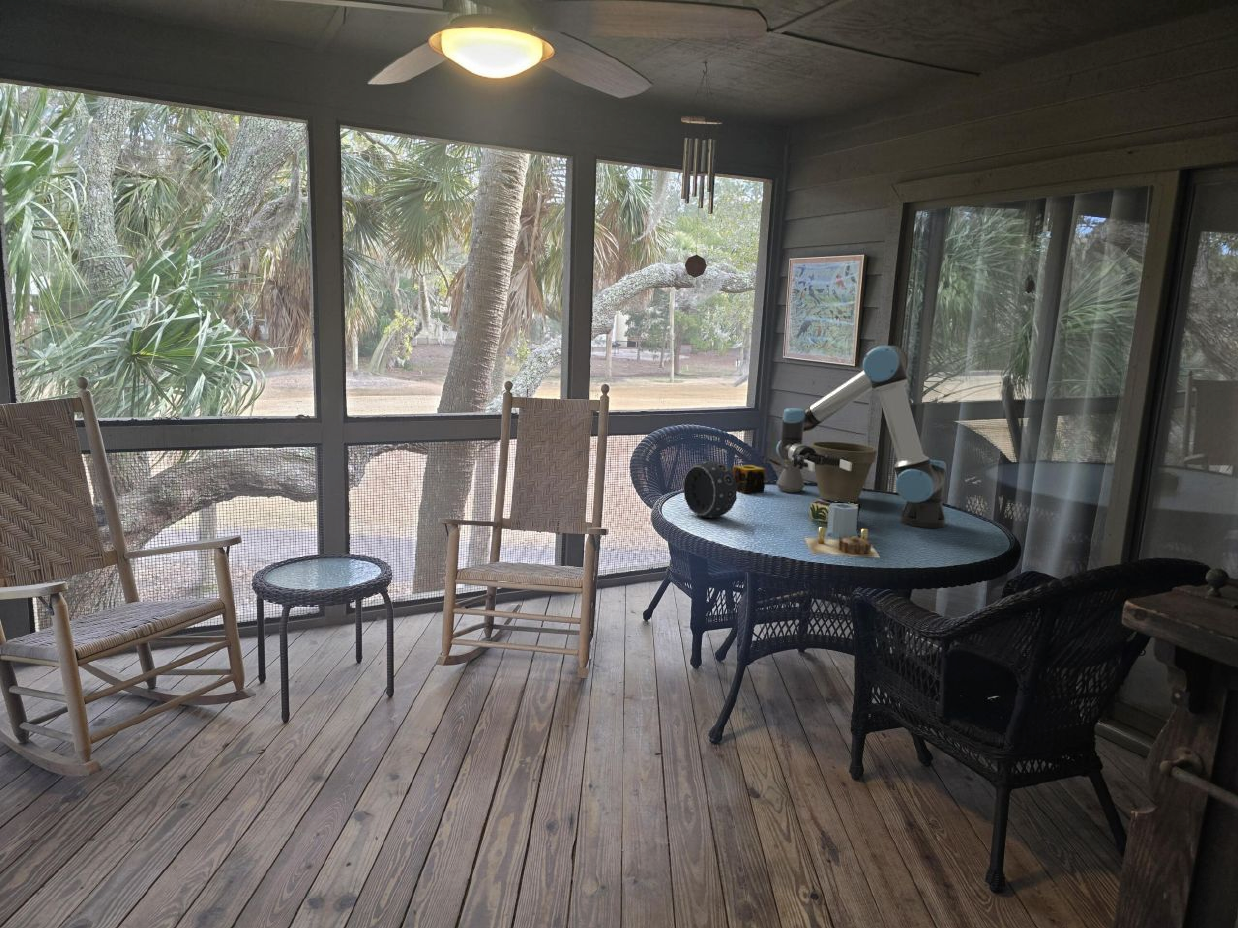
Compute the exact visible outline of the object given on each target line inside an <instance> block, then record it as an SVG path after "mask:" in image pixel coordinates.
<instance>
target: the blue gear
mask: <svg viewBox="0 0 1238 928" xmlns="http://www.w3.org/2000/svg"><path fill="white" fill-rule="evenodd" d="M858 511H859V506H857V505H854V504H853V503H837V502H832V503H830V504H829V505H828V516H827V525H826V526H827V528H826V531H825V536H828V537H829V536H830V537H833V538H834V539H840V538H846V537H851V538H852V536H856V537H859V534H858V531H857V522H858V514H859V513H858Z"/></svg>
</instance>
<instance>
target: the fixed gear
mask: <svg viewBox="0 0 1238 928" xmlns="http://www.w3.org/2000/svg"><path fill="white" fill-rule="evenodd" d="M838 540H839V546H838V549H839V550H842V551H841V552H843V553H850V554H852V555H854V554H859V555H864V554H870V551H871V545H872V541H869V540H868V539H867V540H866V539H860V537H859V536H858V537H856V536H852V538H851V537H846V538H839V539H838Z"/></svg>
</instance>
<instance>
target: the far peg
mask: <svg viewBox="0 0 1238 928" xmlns="http://www.w3.org/2000/svg"><path fill="white" fill-rule="evenodd" d="M868 535H869V529H868V528H863V527H862V528H860V537H859V539H866V540H868Z"/></svg>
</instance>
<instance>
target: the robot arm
mask: <svg viewBox="0 0 1238 928" xmlns="http://www.w3.org/2000/svg"><path fill="white" fill-rule="evenodd" d="M908 366H909V356H908V353H907V352H906V351H905V350H904V349H903V348H901V347H900V346H897V345H885V344H884V345H879V346H876V347H874V348H872V349H870V350H869V351H868V352H867V353H866V354H865V356H864V358H863V361H862V370H861V371H860V372H859V373H857V374H855V375H854V376H853V377H850V379H848V380H847V381H845V382H843V383H842V384H840V385H838V387H836V388H834V389H833V390H832V391H830V392H829V393H827V394H826V395H824V396H823V397H820V399H818V400H817V401H815V402H814V403H813V404H811V405H810V406H808V407H806V408H805V409H802V408H797V407H787V408H785V409H784V411H783V415H782V427H781V440H779V441H778V443H777V444H776V448H775V451H776V454H777V455H778V456H779V458H781V459H783V460H786V461H790V462H792V463H793V466H794V467H797V466H798V467H799V470H803V469H806V470H808V471H810V472H815V465H825V464H827V465H834V466H840V468H843V469H846V470H848V471H851V468H852V463H851V462H848V459H845V457H842V458H839V457H834V456H829V455H819V454H817V453H816V451H815V450H814V449H813V448H811V446H808V445H806V444H803V436H804V435H803V434H804V432H810V431H812V430H814V429H816V427H818V426H819V425H820V424H822V423H823V422H824V421H826V420H827V419H829V418H830V417H831V416H834V415H835V414H837V413H838V412H839V411H841V410H842V409H844V408H845V407H847V406H848V405H851V404H852V403H854V401H857V400H858V399H860V398H861V397H862V396H864V395H866V394H867V393H868V392H870V391H872V390H873V391H874V392H876V393H877V394H878V396H879V399H880V403H881V406H882V410H883V415H884V418H885V421H886V424H887V429H888V431H889V435H890V439H891V443H892V446H893V450H894V453H895V457H896V462H895V464H894V466H893V467H894V472H895V474H896V480H895V489H896V492H897V494H898V495H899V496H900V497H901V498H902V500H904V501H906V502H905V504H904V505H903V508H902V510H901V512H900V516H899V521H900V522H901V523H903V524H905V525H908V526H912V527H917V528H918V527H919V528H926V529H937V528H944V527H945V526H946V516H945V511H944V507H943V498H944V487H945V478H946V472H947V464H946V462H945V461H942V460H935V459H931V458H930V457H928V456H927V455H925V454H924V451H923V449H922V448H923V447H922V445H921V441H920V437H919V435H918V430H917V427H916V423H915V420H914V416H913V413H912V409H911V405H910V402H909V399H908V394H907V391H906V388H905V385H906V383H907V382H908V376H907V373H906V371H907V370H908ZM821 461H822V463H820V462H821Z"/></svg>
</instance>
